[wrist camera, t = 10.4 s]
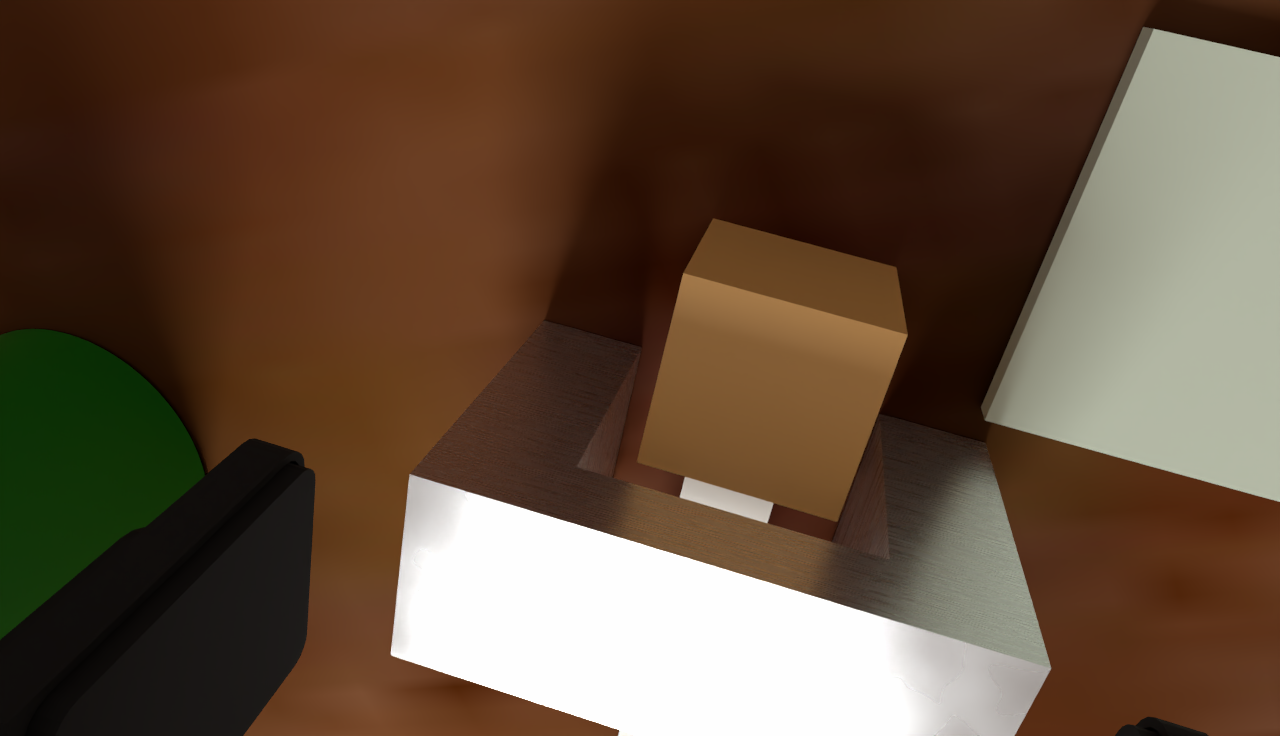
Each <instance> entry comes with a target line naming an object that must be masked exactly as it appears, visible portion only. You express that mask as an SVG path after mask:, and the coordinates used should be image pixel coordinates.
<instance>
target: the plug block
mask: <svg viewBox="0 0 1280 736" xmlns="http://www.w3.org/2000/svg"><path fill="white" fill-rule="evenodd" d="M907 336H908V333H907V327H906V321H905V315H904V309H903V303H902V297H901V291H900V286H899V280H898V274H897V268H896V267H894V266H890V265H886V264H883V263H879V262H875V261H871V260H868V259H864V258H860V257H856V256H853V255H849V254H845V253H841V252H838V251H834V250H830V249H827V248H823V247H819V246H815V245H812V244H808V243H804V242H800V241H797V240H793V239H789V238H785V237H782V236H778V235H774V234H770V233H767V232H763V231H759V230H756V229H752V228H748V227H744V226H741V225H737V224H733V223H729V222H726V221H722V220H718V219H714V218H713V220H712V221H711V223H710V225H709V227H708V229H707V231H706V232H705V234H704V236H703V238H702V240H701V242H700V243H699V245H698V247H697V249H696V251H695V253H694V254H693V256H692V258H691V260H690V262H689V264H688V265H687V267H686V269H685V271H684V273H683V276H682V280H681V284H680V288H679V292H678V297H677V301H676V305H675V309H674V313H673V317H672V321H671V325H670V329H669V333H668V337H667V341H666V345H665V349H664V353H663V357H662V362H661V366H660V370H659V374H658V378H657V382H656V386H655V390H654V394H653V398H652V402H651V406H650V410H649V414H648V418H647V422H646V427H645V431H644V435H643V439H642V443H641V447H640V451H639V455H638V459H637V462H638V463H641V464H645V465H648V466H651V467H655V468H658V469H661V470H665V471H668V472H671V473H675V474H678V475H681V476H685V477H688V478H691V479H695V480H698V481H701V482H705V483H708V484H712V485H715V486H718V487H722V488H725V489H728V490H732V491H735V492H738V493H742V494H745V495H748V496H752V497H755V498H758V499H762V500H765V501H768V502H772V503H775V504H779V505H782V506H785V507H789V508H792V509H795V510H799V511H802V512H805V513H809V514H812V515H815V516H819V517H822V518H825V519H829V520H832V521H835V522H837V521H838V518H839V516H840V513H841V511H842V508H843V505H844V503H845V500H846V497H847V495H848V492H849V489H850V487H851V484H852V481H853V479H854V476H855V473H856V471H857V468H858V466H859V463H860V460H861V458H862V455H863V452H864V450H865V447H866V444H867V442H868V439H869V436H870V434H871V431H872V428H873V426H874V423H875V420H876V418H877V415H878V413H879V410H880V407H881V405H882V402H883V399H884V397H885V394H886V391H887V389H888V386H889V383H890V381H891V378H892V375H893V373H894V370H895V367H896V365H897V362H898V360H899V357H900V354H901V352H902V349H903V346H904V344H905V341H906V338H907Z"/></svg>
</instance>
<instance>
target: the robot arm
mask: <svg viewBox="0 0 1280 736" xmlns="http://www.w3.org/2000/svg"><path fill="white" fill-rule="evenodd" d="M314 495H315V474H314V471H313V470H311V469H309V468H305V467H304V458H303V456H302V454H301V453H299V452H297V451H294V450H290V449H287V448H284V447H281V446H277V445H274V444H271V443H268V442H265V441H261V440H258V439H249V440H247V441H246V442H244V443H243V444H241V445H240V446H239V447H238V448H237V449H236V450H235V451H233V452H232V453H231V454H230V455H229V456H228V457H226V458H225V459H224V460H223V461H222V462H221V463H219V464H218V465H217V466H216V467H215V468H214V469H212V470H211V471H210V472H209V473H208V474H207V475H205V476H204V477H203V478H202V479H201V480H200V481H198V482H197V483H196V484H195V485H194V486H193V487H191V488H190V489H189V490H188V491H187V492H186V493H184V494H183V495H182V496H181V497H180V498H179V499H178V500H176V501H175V502H174V503H173V504H172V505H171V506H169V507H168V508H167V509H166V510H165V511H164V512H162V513H161V514H160V515H159V516H158V517H157V518H155V519H154V520H153V521H152V522H151V523H150V524H148V525H147V526H146V527H142V528H138V529H135V530H132V531H130V532H129V533H127V534H126V535H124V536H123V537H121V538H120V539H119V540H118V541H116V542H115V543H114V544H113V545H112V546H110V547H109V548H108V549H107V550H106V551H105V552H103V553H102V554H101V555H100V556H99V557H97V558H96V559H95V560H94V561H93V562H92V563H90V564H89V565H88V566H87V567H86V568H84V569H83V570H82V571H81V572H80V573H78V574H77V575H76V576H75V577H74V578H73V579H71V580H70V581H69V582H68V583H67V584H65V585H64V586H63V587H62V588H61V589H60V590H58V591H57V592H56V593H55V594H54V595H52V596H51V597H50V598H49V599H48V600H47V601H45V602H44V603H43V604H42V605H41V606H39V607H38V608H37V609H36V610H35V611H34V612H32V613H31V614H30V615H29V616H28V617H26V618H25V619H24V620H23V621H22V622H21V623H19V624H18V625H17V626H16V627H15V628H13V629H12V630H11V631H10V632H9V633H7V634H6V635H5V636H4V637H3V638H2V639H0V736H243V735H244V734H245V732H246V731H247V730H248V728H249V727H250V726H251V724H252V723H253V722H254V720H255V719H256V718H257V716H258V715H259V714H260V712H261V711H262V709H263V708H264V707H265V705H266V704H267V703H268V701H269V700H270V699H271V697H272V696H273V695H274V693H275V692H276V691H277V689H278V688H279V687H280V685H281V684H282V682H283V681H284V680H285V678H286V677H287V676H288V674H289V673H290V672H291V670H292V669H293V667H294V666H295V664H296V663H297V661H298V659H299V657H300V655H301V653H302V650H303V648H304V645H305V641H306V636H307V622H308V604H309V586H310V568H311V549H312V531H313V513H314ZM1115 736H1208V735H1207V734H1206V733H1203V732H1200V731H1196V730H1193V729H1190V728H1187V727H1183V726H1180V725H1177V724H1174V723H1171V722H1167V721H1164V720H1161V719H1158V718H1153V717H1147V718H1144V719H1142V720H1141V721H1140V722H1139V723H1138V724H1137V725H1136V726H1134V725H1125V726H1123V727H1122V728H1121V729H1120V730H1119V731H1118V732H1117V734H1116V735H1115Z"/></svg>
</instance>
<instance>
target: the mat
mask: <svg viewBox="0 0 1280 736" xmlns="http://www.w3.org/2000/svg"><path fill="white" fill-rule="evenodd" d="M981 410H982V413H983V416H984V420H985V421H989V422H992V423H996V424H1000V425H1003V426H1007V427H1011V428H1014V429H1018V430H1021V431H1025V432H1029V433H1032V434H1036V435H1040V436H1043V437H1047V438H1050V439H1054V440H1058V441H1061V442H1065V443H1068V444H1072V445H1076V446H1079V447H1083V448H1087V449H1090V450H1094V451H1097V452H1101V453H1105V454H1108V455H1112V456H1116V457H1119V458H1123V459H1126V460H1130V461H1134V462H1137V463H1141V464H1145V465H1148V466H1152V467H1155V468H1159V469H1163V470H1166V471H1170V472H1174V473H1177V474H1181V475H1184V476H1188V477H1192V478H1195V479H1199V480H1203V481H1206V482H1210V483H1213V484H1217V485H1221V486H1224V487H1228V488H1232V489H1235V490H1239V491H1242V492H1246V493H1250V494H1253V495H1257V496H1261V497H1264V498H1268V499H1271V500H1275V501H1279V502H1280V57H1277V56H1272V55H1268V54H1263V53H1259V52H1254V51H1250V50H1246V49H1241V48H1237V47H1232V46H1228V45H1223V44H1219V43H1215V42H1210V41H1206V40H1201V39H1197V38H1192V37H1188V36H1184V35H1179V34H1175V33H1170V32H1166V31H1161V30H1157V29H1152V28H1147V27H1143V28H1142V31H1141V33H1140V35H1139V38H1138V40H1137V42H1136V45H1135V47H1134V49H1133V52H1132V54H1131V56H1130V59H1129V61H1128V63H1127V66H1126V68H1125V70H1124V73H1123V75H1122V77H1121V80H1120V82H1119V84H1118V87H1117V89H1116V91H1115V94H1114V96H1113V98H1112V101H1111V103H1110V106H1109V108H1108V110H1107V113H1106V115H1105V117H1104V120H1103V122H1102V124H1101V127H1100V129H1099V131H1098V134H1097V136H1096V138H1095V141H1094V143H1093V145H1092V148H1091V150H1090V152H1089V155H1088V157H1087V159H1086V162H1085V164H1084V166H1083V169H1082V171H1081V174H1080V176H1079V178H1078V181H1077V183H1076V185H1075V188H1074V190H1073V192H1072V195H1071V197H1070V199H1069V202H1068V204H1067V206H1066V209H1065V211H1064V213H1063V216H1062V218H1061V220H1060V223H1059V225H1058V227H1057V230H1056V232H1055V234H1054V237H1053V239H1052V241H1051V244H1050V246H1049V249H1048V251H1047V253H1046V256H1045V258H1044V260H1043V263H1042V265H1041V267H1040V270H1039V272H1038V274H1037V277H1036V279H1035V281H1034V284H1033V286H1032V288H1031V291H1030V293H1029V295H1028V298H1027V300H1026V302H1025V305H1024V307H1023V309H1022V312H1021V314H1020V317H1019V319H1018V321H1017V324H1016V326H1015V328H1014V331H1013V333H1012V335H1011V338H1010V340H1009V342H1008V345H1007V347H1006V349H1005V352H1004V354H1003V356H1002V359H1001V361H1000V363H999V366H998V368H997V370H996V373H995V375H994V377H993V380H992V382H991V384H990V387H989V389H988V392H987V394H986V396H985V399H984V401H983V403H982V406H981Z"/></svg>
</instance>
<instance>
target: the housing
mask: <svg viewBox="0 0 1280 736" xmlns="http://www.w3.org/2000/svg"><path fill="white" fill-rule="evenodd" d="M641 350H642V347H639V346H636V345H632V344H628V343H625V342H621V341H618V340H614V339H610V338H607V337H603V336H600V335H596V334H592V333H589V332H585V331H582V330H578V329H575V328H571V327H567V326H564V325H560V324H557V323H553V322H549V321H546V320H544V321H543V322H542V323H541V324H540V326H539V327H538V328H537V329H536V330H535V331H534V332H533V334H532V335H531V336H530V337H529V338H528V339H527V341H526V342H525V343H524V344H523V345H522V346H521V347H520V349H519V350H518V351H517V352H516V353H515V354H514V355H513V357H512V358H511V359H510V360H509V361H508V362H507V363H506V365H505V366H504V367H503V368H502V369H501V370H500V371H499V373H498V374H497V375H496V376H495V377H494V378H493V379H492V381H491V382H490V383H489V384H488V385H487V386H486V387H485V389H484V390H483V391H482V392H481V393H480V394H479V395H478V397H477V398H476V399H475V400H474V401H473V402H472V404H471V405H470V406H469V407H468V408H467V409H466V410H465V412H464V413H463V414H462V415H461V416H460V417H459V418H458V420H457V421H456V422H455V423H454V424H453V425H452V426H451V428H450V429H449V430H448V431H447V432H446V433H445V434H444V436H443V437H442V438H441V439H440V440H439V441H438V442H437V444H436V445H435V446H434V447H433V448H432V449H431V450H430V452H429V453H428V454H427V455H426V456H425V457H424V458H423V460H422V461H421V462H420V463H419V464H418V465H417V467H416V468H415V469H414V470H413V471H412V472H411V473H410V476H409V486H408V495H407V505H406V515H405V524H404V534H403V543H402V553H401V562H400V572H399V581H398V591H397V600H396V610H395V620H394V629H393V639H392V648H391V655H392V656H395V657H398V658H401V659H404V660H407V661H410V662H413V663H417V664H420V665H423V666H426V667H429V668H432V669H435V670H438V671H441V672H444V673H447V674H450V675H453V676H456V677H459V678H463V679H466V680H469V681H472V682H475V683H478V684H481V685H484V686H487V687H490V688H493V689H496V690H499V691H502V692H506V693H509V694H512V695H515V696H518V697H521V698H524V699H527V700H530V701H533V702H536V703H539V704H542V705H545V706H548V707H552V708H555V709H558V710H561V711H564V712H567V713H570V714H573V715H576V716H579V717H582V718H585V719H588V720H591V721H594V722H598V723H601V724H604V725H607V726H610V727H613V728H616V729H619V730H622V731H625V732H628V733H631V734H634V735H637V736H1014V735H1015V734H1016V732H1017V730H1018V728H1019V726H1020V724H1021V723H1022V721H1023V719H1024V717H1025V715H1026V713H1027V712H1028V710H1029V708H1030V706H1031V704H1032V703H1033V701H1034V699H1035V697H1036V695H1037V693H1038V692H1039V690H1040V688H1041V686H1042V684H1043V682H1044V681H1045V679H1046V677H1047V675H1048V673H1049V672H1050V670H1051V666H1050V662H1049V659H1048V656H1047V652H1046V649H1045V645H1044V642H1043V638H1042V635H1041V632H1040V628H1039V625H1038V621H1037V618H1036V614H1035V611H1034V608H1033V604H1032V601H1031V597H1030V594H1029V590H1028V587H1027V584H1026V580H1025V577H1024V573H1023V570H1022V566H1021V563H1020V560H1019V556H1018V553H1017V549H1016V546H1015V542H1014V539H1013V536H1012V532H1011V529H1010V525H1009V522H1008V518H1007V515H1006V512H1005V508H1004V505H1003V501H1002V498H1001V494H1000V491H999V487H998V484H997V481H996V477H995V474H994V470H993V467H992V463H991V460H990V457H989V453H988V450H987V446H986V443H984V442H980V441H977V440H973V439H969V438H966V437H962V436H959V435H955V434H951V433H948V432H944V431H941V430H937V429H934V428H930V427H926V426H923V425H919V424H916V423H912V422H908V421H905V420H901V419H898V418H894V417H890V416H887V415H883V414H880V413H879V416H878V419H877V422H876V424H875V427H874V430H873V432H872V435H871V438H870V440H869V443H868V446H867V449H866V451H865V454H864V457H863V459H862V462H861V465H860V467H859V470H858V473H857V476H856V478H855V481H854V484H853V486H852V489H851V492H850V495H849V497H848V500H847V503H846V505H845V508H844V511H843V513H842V516H841V519H840V522H839V524H838V527H837V530H836V532H835V535H834V538H833V540H832V542H829V541H825V540H822V539H819V538H815V537H812V536H809V535H805V534H802V533H798V532H795V531H792V530H788V529H785V528H781V527H778V526H775V525H771V524H768V523H765V522H761V521H758V520H754V519H751V518H748V517H744V516H741V515H737V514H734V513H731V512H727V511H724V510H721V509H717V508H714V507H710V506H707V505H704V504H700V503H697V502H693V501H690V500H687V499H683V498H680V497H677V496H673V495H670V494H666V493H663V492H660V491H656V490H653V489H649V488H646V487H643V486H639V485H636V484H633V483H629V482H626V481H622V480H619V479H616V478H613V474H614V469H615V465H616V461H617V456H618V452H619V447H620V443H621V438H622V434H623V430H624V425H625V421H626V416H627V412H628V407H629V403H630V398H631V394H632V390H633V385H634V381H635V376H636V372H637V367H638V363H639V359H640V354H641Z"/></svg>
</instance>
